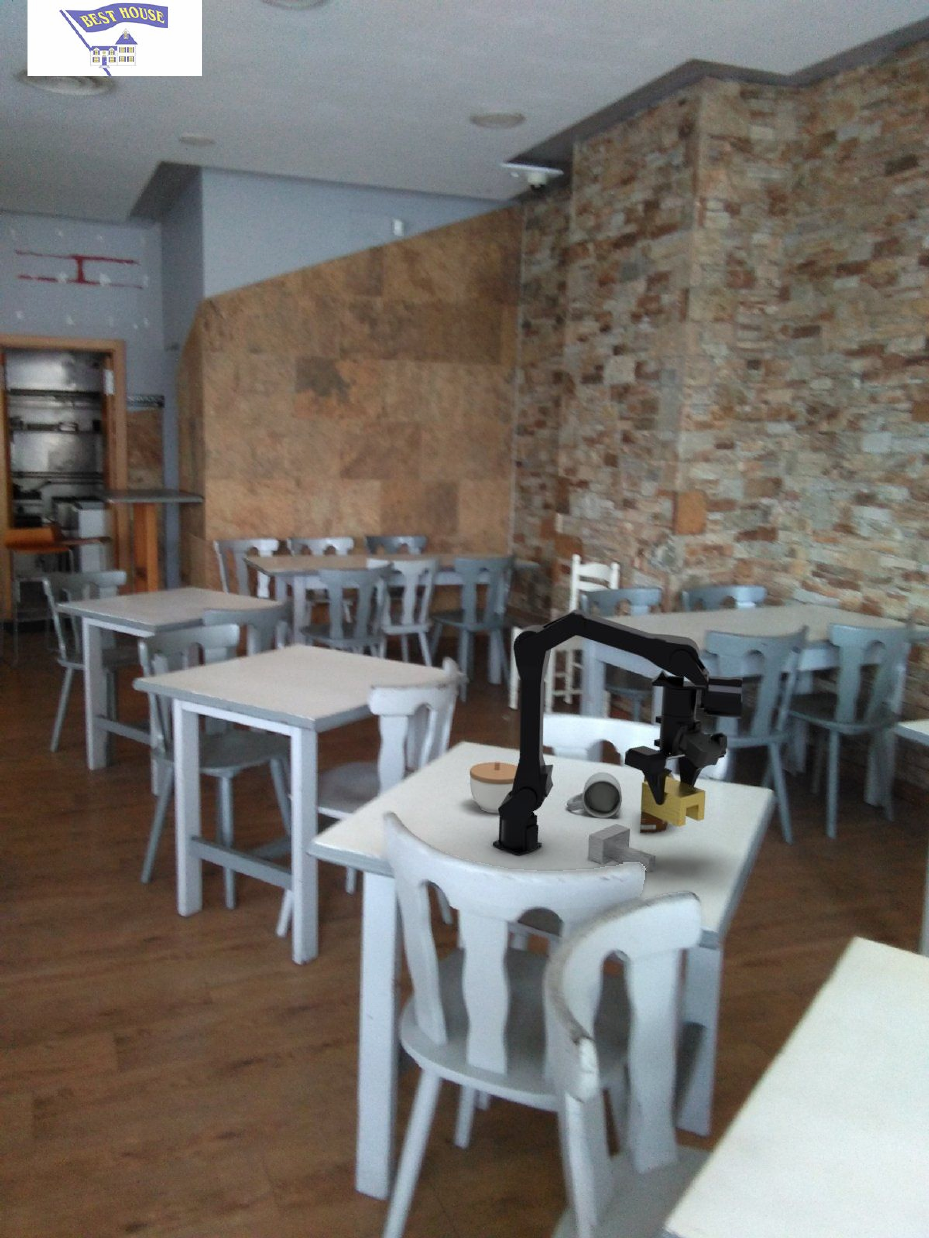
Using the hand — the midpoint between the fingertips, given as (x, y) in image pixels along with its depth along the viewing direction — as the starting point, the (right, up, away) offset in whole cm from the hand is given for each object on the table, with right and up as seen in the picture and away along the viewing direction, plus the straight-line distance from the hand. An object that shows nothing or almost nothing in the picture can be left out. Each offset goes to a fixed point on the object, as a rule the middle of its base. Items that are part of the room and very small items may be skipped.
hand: (672, 801), depth 179 cm
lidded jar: (-29, -6, +28) cm, 41 cm away
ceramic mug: (-10, -7, +28) cm, 30 cm away
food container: (+1, -8, +21) cm, 22 cm away
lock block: (0, -2, 0) cm, 2 cm away
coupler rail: (-7, -11, +3) cm, 14 cm away
